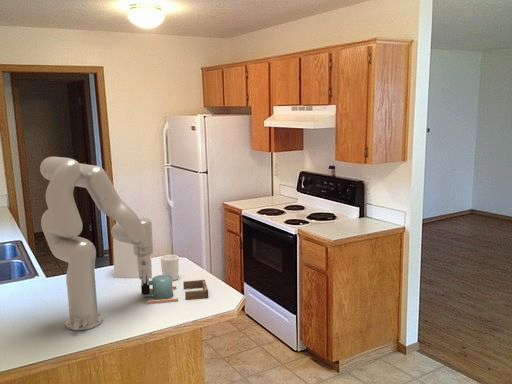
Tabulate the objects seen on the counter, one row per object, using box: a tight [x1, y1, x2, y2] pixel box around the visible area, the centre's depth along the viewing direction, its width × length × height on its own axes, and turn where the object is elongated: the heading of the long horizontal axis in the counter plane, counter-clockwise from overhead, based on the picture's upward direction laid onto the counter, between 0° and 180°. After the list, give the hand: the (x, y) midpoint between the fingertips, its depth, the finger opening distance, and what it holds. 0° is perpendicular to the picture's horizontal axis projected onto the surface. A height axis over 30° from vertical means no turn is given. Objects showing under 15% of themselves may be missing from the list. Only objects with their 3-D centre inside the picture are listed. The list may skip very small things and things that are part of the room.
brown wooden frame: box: [182, 279, 209, 301], centre depth 194 cm, size 12×9×3 cm
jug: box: [142, 274, 174, 300], centre depth 190 cm, size 8×12×8 cm
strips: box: [146, 285, 179, 305], centre depth 191 cm, size 14×12×1 cm
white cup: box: [160, 254, 180, 282], centre depth 209 cm, size 8×8×10 cm
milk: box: [112, 238, 139, 279], centre depth 214 cm, size 12×12×26 cm
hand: (145, 292), depth 189 cm, fingers closed on jug
